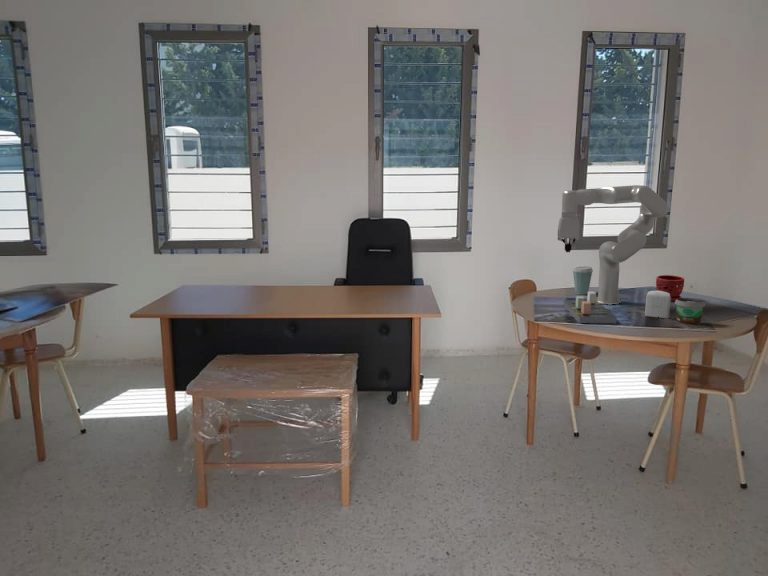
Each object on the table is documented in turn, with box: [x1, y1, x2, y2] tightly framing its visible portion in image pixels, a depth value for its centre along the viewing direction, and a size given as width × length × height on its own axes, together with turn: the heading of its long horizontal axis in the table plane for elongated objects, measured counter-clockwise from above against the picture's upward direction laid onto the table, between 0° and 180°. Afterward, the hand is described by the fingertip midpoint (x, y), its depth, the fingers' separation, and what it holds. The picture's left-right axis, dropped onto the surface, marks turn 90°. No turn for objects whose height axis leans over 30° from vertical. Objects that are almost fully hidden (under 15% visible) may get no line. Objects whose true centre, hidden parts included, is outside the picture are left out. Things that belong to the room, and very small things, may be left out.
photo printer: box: [644, 290, 672, 319], centre depth 264 cm, size 10×4×12 cm, turn 56°
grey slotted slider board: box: [563, 299, 617, 325], centre depth 272 cm, size 16×34×3 cm, turn 174°
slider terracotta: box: [581, 300, 591, 314], centre depth 261 cm, size 3×4×5 cm, turn 174°
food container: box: [674, 299, 707, 325], centre depth 253 cm, size 12×6×10 cm, turn 70°
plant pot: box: [655, 274, 685, 302], centre depth 298 cm, size 13×13×12 cm
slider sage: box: [575, 295, 586, 309], centre depth 272 cm, size 3×4×5 cm, turn 174°
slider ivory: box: [586, 291, 597, 303], centre depth 282 cm, size 3×4×5 cm, turn 174°
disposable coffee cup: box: [572, 265, 594, 296], centre depth 317 cm, size 11×11×15 cm
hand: (567, 251), depth 289 cm, fingers closed
